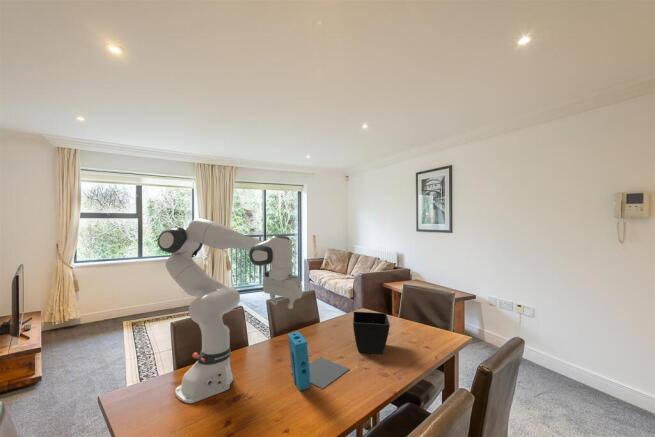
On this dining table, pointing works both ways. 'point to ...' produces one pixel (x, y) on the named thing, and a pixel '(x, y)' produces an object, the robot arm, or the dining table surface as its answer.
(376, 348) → the flower pot
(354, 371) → the dining table surface
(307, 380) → the block
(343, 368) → the charcoal mat
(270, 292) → the robot arm
